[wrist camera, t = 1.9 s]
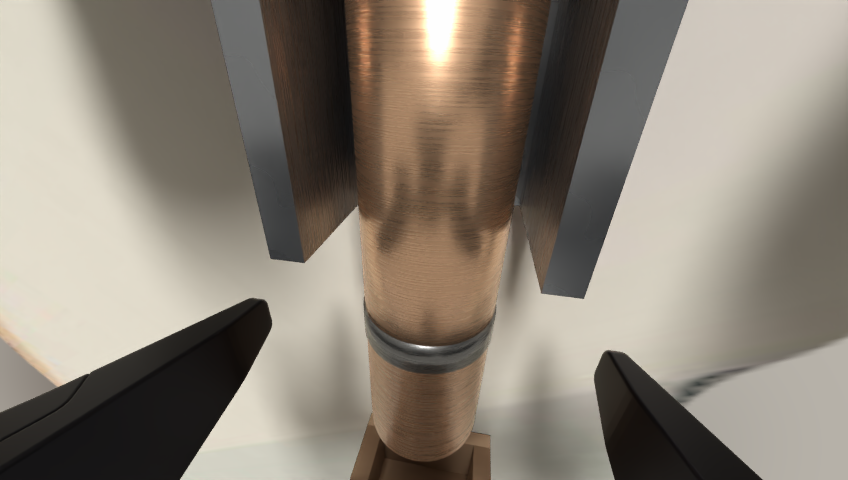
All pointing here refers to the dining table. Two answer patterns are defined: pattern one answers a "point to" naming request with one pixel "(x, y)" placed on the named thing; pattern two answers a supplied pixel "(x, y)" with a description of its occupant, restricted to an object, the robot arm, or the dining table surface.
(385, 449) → the socket
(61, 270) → the dining table surface
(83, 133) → the dining table surface
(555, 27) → the grey channel holder
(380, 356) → the tube
